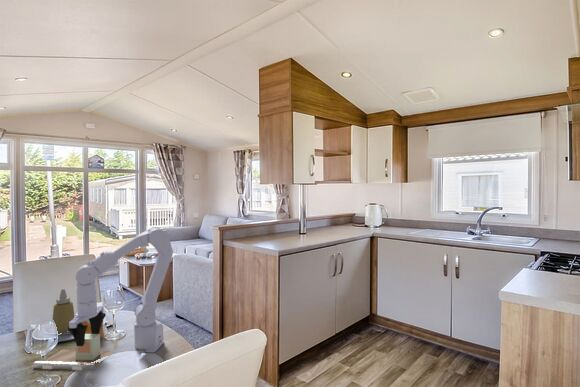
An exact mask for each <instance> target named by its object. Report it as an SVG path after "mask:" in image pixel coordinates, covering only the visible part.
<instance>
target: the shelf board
mask: <svg viewBox="0 0 580 387" xmlns="http://www.w3.org/2000/svg"><path fill="white" fill-rule="evenodd" d="M114 353H116V350H101V349H100V355H99V356H97V357H96V358H95V359H93V360H76V349H66V348H65V349H61V350H60V351H58V352H56V353H55V354H53V355H51V356H50V357H48V358H47V359H45V360H36V361H34V362H33V369H42V370H53V369H54V370H57V369H58V370H72V371H82V370H84V371H93V370H94V369H96V368H97V367H98V366H99V365H101V364H102V363H103V362H102V361H101V362H100V363H99V362H97V363H96V362H95V363H91V362H94V361H96V360H98V359H101V358H103V357H106V356H109V357H110V356H112V355H113V354H114Z"/></svg>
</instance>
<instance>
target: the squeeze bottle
mask: <svg viewBox="0 0 580 387" xmlns="http://www.w3.org/2000/svg"><path fill="white" fill-rule="evenodd" d="M55 302H56V303H55V304H54V305H53V310H52V320H54V322H55V324H56V327H57V331H58V334H60V333H63V334H65V333H64V332H66V333H68V332H67V331H69V330H68V326H69V322H70V321H72V320H73V319H74V318H75V311H74V310H75V309H74V302H72V301H71V296H68V295H67V293H66V289H65V288H62V289H61V290H60V295H59V297H58V298H56V300H55ZM69 332H70V331H69Z"/></svg>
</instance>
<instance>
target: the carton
mask: <svg viewBox="0 0 580 387" xmlns="http://www.w3.org/2000/svg"><path fill="white" fill-rule="evenodd" d="M74 342H75V341H74ZM74 350H76V360H93V359H95V358H96V357H97V356H99V355H100V350H101V337H100V334H85V342H84V345H83V346H77V345H76V342H75V349H74Z"/></svg>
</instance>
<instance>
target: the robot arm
mask: <svg viewBox="0 0 580 387" xmlns="http://www.w3.org/2000/svg"><path fill="white" fill-rule="evenodd" d="M149 244H150V245H151V246H152V247H154V249H155V251H156V252H157V254H158V255H157V257H156V260H155V263H154V266H153V268H152V272H151V274H150V277H149V280H148V282H147V285H146V288H145V291H144V294H143V296H142V297H141V299H140V302H139V303H138V304H137V305H136V306H135V307H134V316H135V318H136V320H135V322H134V323H133V326H134V328H133V330H134V331H133V332H134V348H135V349H137V350H143V351H144V352H143V353H156V351H158V350H159V349H160V347H162V345H163V344H165V341H164V325H163V324H162V323H161V322H157V321H156V309H157V302H158V297H159V295H160V292H161V290H162V286H163V283H164V280H165V278H166V275H167V273H168V272H167V271H168V268H169V266H170V263H171V260H172V257H173V255H174V251H173V248H172V243H171V240H170V236H169V235H168V234H167V232H166V231H164V230H163V229H162V228H160V227H158V226H154V227H150V228H149V229H147V230H144V231H143V232H141V233H139V234H138V235H136V236H135V237H134V238H132V239H130V240H128V241H127V242H125V243H124V244H123V245H121V246H119V248H117V249H115V250H114V251H110V250H108V251H102V252H101V253H99V256H97V257H95V258H94V259H92V260H91V261H90V260H88V261H87V262H86V264H84V265H81V266H80V267H79V268H78V269H77V271H76V273H75V280H76V287H77V288H76V304H77V305H76V308H77V310H76V311H77V312H76V313H74V315H75V318H74V319H73V320H72V321H70V322H69V326H68V330H69V333H70V334H71V336H72V338H73V340H74V342H76V345H77V346H83V345H84V342H85V332H86V329H87V326H88V325H83V324H82V323H83V322H84V321H86V320H88V319H89V321H90V325H91V333H92V334H99V332H100V328H101V325H102V322H103V323H104V320H105V317H106V312H105V310H104V309H105V308H104V305H103V306H98V307H97V303H98V298H97V295H98V294H97V286H96V279H97V277H98V276H101V275H103V274H105V273H106V272H108V271H109V270H111V269H112V268H114V267H115V266H117V265H118V262H119V259H121V258H123V257H125V256H126V255H128V254H130V253H131V252H133V251H134V250H137V249H139V247H150V245H149ZM102 312H103V313H102Z"/></svg>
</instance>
